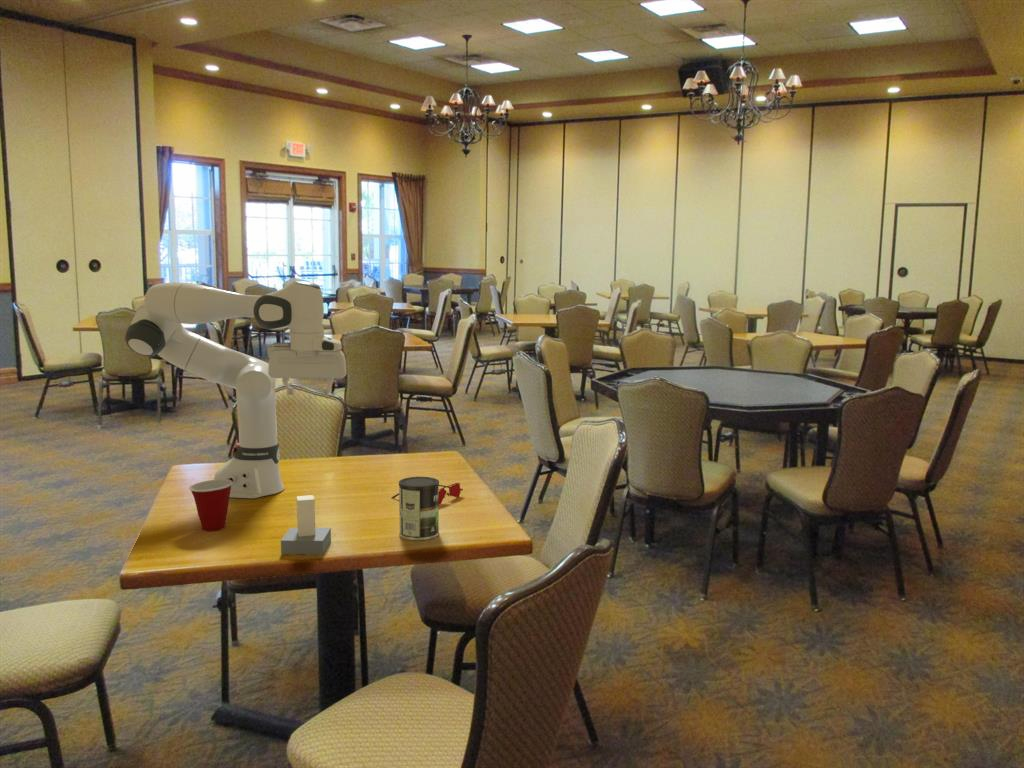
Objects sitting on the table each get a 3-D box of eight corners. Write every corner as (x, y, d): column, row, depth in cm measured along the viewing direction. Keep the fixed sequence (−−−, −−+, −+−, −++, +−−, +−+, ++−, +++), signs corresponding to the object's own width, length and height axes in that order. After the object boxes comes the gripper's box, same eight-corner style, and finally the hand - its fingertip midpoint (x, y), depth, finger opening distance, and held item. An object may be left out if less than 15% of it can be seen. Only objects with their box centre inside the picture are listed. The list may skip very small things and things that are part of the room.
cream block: (298, 536, 208) (297, 500, 207) (297, 531, 212) (296, 496, 211) (315, 535, 209) (314, 499, 208) (314, 530, 213) (313, 495, 212)
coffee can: (439, 527, 228) (439, 476, 226) (438, 540, 218) (439, 486, 216) (399, 528, 227) (399, 476, 225) (397, 541, 217) (397, 486, 215)
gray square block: (281, 556, 206) (280, 540, 205) (290, 542, 216) (290, 527, 215) (323, 556, 206) (322, 540, 206) (331, 543, 216) (330, 527, 216)
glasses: (435, 508, 246) (435, 491, 246) (390, 499, 255) (390, 483, 254) (463, 497, 258) (463, 481, 257) (419, 489, 267) (419, 473, 266)
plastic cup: (200, 520, 231) (198, 477, 229) (240, 521, 230) (238, 478, 229) (183, 533, 220) (181, 488, 218) (225, 534, 220) (223, 489, 218)
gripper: (264, 343, 224) (266, 396, 226) (344, 344, 225) (344, 396, 227) (269, 341, 230) (271, 392, 232) (347, 342, 231) (347, 392, 233)
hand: (308, 394), depth 229 cm, fingers open, 8 cm apart
